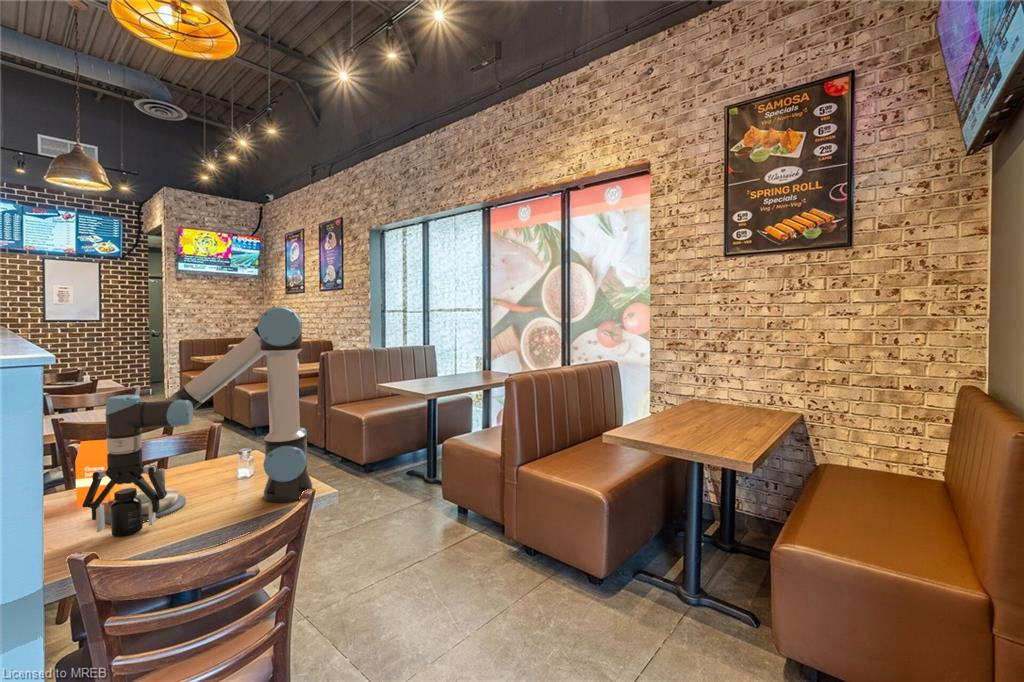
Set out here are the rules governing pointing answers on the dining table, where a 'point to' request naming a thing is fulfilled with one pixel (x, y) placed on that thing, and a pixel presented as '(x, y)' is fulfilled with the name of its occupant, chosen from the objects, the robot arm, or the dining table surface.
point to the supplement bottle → (126, 513)
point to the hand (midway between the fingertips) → (127, 526)
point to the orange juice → (92, 469)
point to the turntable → (163, 503)
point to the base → (159, 514)
